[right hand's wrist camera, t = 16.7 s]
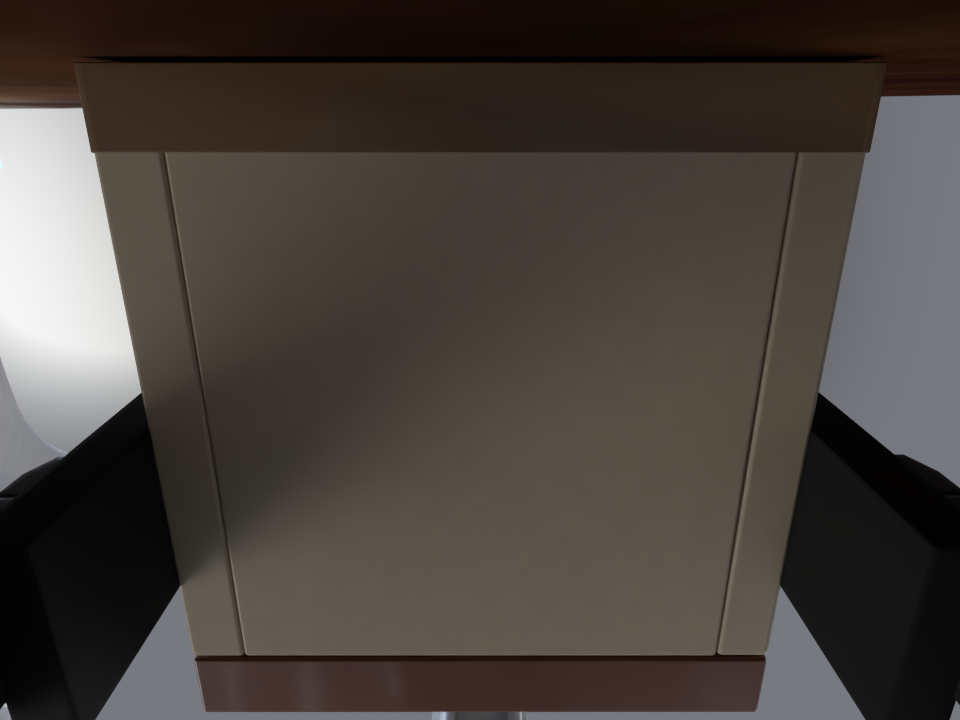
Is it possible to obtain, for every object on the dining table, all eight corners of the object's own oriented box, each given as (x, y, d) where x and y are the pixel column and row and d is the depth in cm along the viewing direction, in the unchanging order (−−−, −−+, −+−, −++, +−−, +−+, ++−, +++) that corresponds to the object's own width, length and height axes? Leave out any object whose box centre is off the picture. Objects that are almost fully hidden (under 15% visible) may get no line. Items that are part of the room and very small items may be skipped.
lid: (612, 363, 23) (597, 562, 26) (348, 363, 23) (363, 562, 26) (768, 659, 11) (705, 977, 14) (192, 659, 11) (255, 977, 14)
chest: (636, 93, 20) (615, 367, 23) (323, 93, 20) (344, 367, 23) (888, 62, 8) (770, 657, 11) (72, 62, 8) (191, 657, 11)
